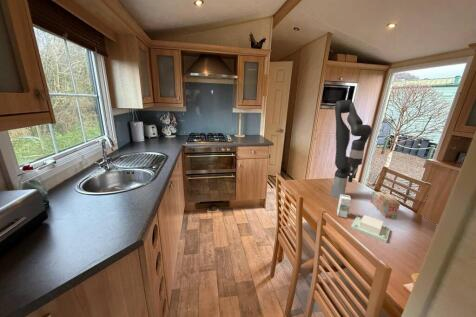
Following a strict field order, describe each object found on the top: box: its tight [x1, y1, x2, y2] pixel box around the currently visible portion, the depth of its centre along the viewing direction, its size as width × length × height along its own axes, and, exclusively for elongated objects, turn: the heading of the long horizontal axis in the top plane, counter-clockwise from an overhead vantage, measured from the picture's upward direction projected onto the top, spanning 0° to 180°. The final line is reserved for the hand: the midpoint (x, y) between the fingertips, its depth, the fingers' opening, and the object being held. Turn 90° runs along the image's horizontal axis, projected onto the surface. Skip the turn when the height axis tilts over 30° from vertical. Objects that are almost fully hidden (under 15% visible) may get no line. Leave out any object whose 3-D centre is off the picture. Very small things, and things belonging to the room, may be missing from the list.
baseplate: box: [350, 214, 391, 243], centre depth 116 cm, size 18×14×6 cm
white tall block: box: [336, 194, 352, 219], centre depth 128 cm, size 6×6×14 cm
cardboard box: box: [370, 191, 401, 220], centre depth 135 cm, size 21×6×12 cm, turn 169°
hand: (351, 180), depth 126 cm, fingers open, 8 cm apart
